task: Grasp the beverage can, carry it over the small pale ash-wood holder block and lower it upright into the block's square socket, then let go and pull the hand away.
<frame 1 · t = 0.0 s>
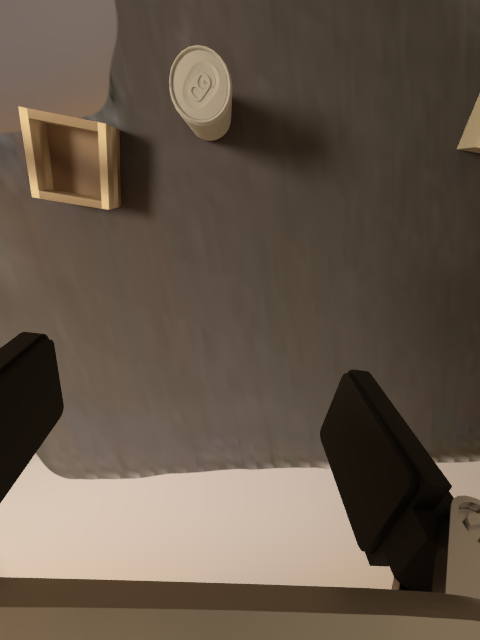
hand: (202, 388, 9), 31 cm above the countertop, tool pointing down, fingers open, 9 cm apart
can holder block: (84, 163, 33), on the countertop
beverage can: (209, 117, 32), on the countertop
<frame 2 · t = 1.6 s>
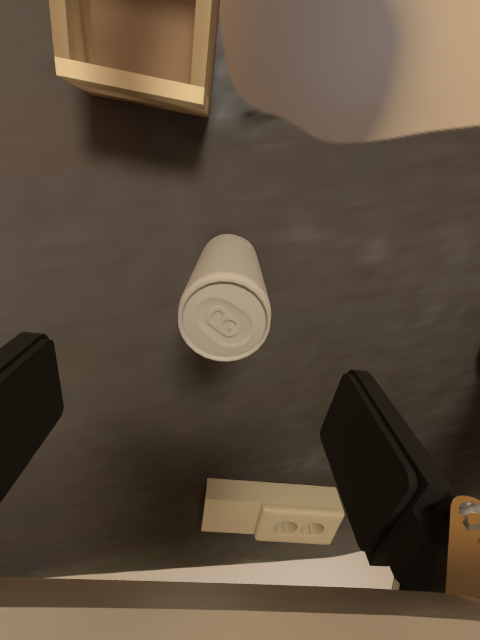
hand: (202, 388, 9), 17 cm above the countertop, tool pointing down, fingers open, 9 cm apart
can holder block: (151, 27, 18), on the countertop
electrical outlet: (268, 494, 40), on the countertop
beverage can: (229, 260, 25), on the countertop
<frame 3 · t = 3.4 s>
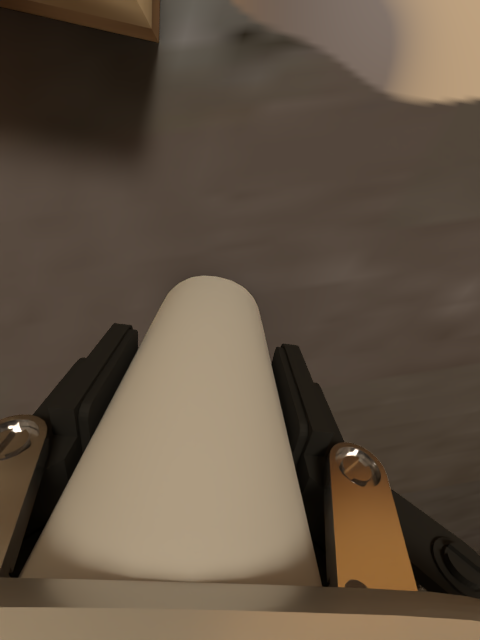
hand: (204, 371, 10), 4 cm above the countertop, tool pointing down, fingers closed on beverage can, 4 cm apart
beverage can: (211, 315, 14), on the countertop, touching gripper
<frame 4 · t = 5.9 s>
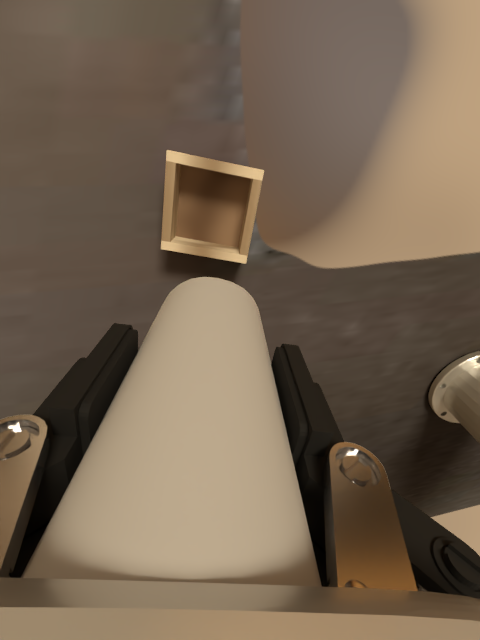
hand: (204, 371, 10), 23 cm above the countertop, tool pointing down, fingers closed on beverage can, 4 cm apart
can holder block: (212, 207, 29), on the countertop
beverage can: (211, 316, 14), point 18 cm above the countertop, touching gripper
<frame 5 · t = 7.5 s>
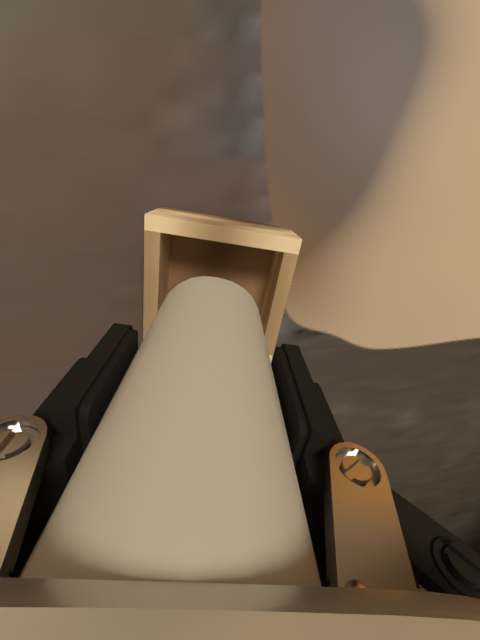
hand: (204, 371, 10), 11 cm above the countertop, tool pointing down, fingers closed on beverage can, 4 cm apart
can holder block: (218, 278, 20), on the countertop
beverage can: (211, 315, 14), point 6 cm above the countertop, touching gripper
when the fingers open (6 cm above the countertop, at t = 8.8 s): beverage can stays where it is, resting on can holder block.
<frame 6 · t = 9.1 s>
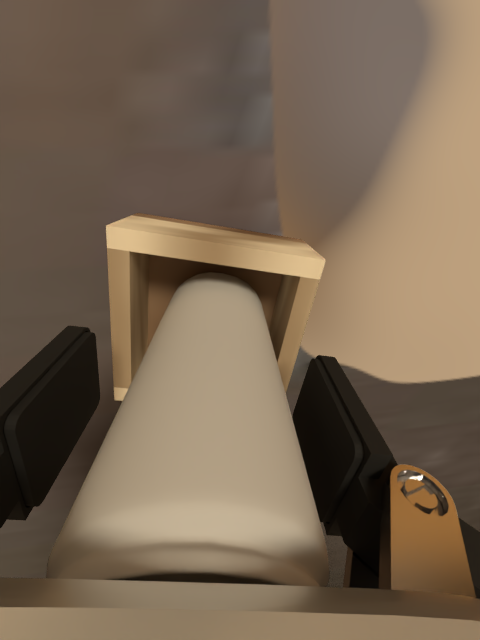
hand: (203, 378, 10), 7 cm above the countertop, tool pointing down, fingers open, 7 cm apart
can holder block: (212, 301, 16), on the countertop
beverage can: (216, 310, 15), point 1 cm above the countertop, touching can holder block
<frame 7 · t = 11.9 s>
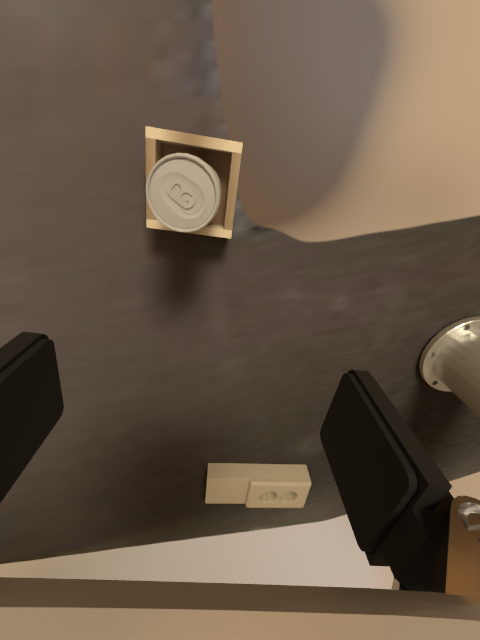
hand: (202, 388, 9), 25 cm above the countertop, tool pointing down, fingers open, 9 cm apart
can holder block: (195, 185, 29), on the countertop
electrical outlet: (255, 473, 53), on the countertop
beverage can: (197, 187, 29), point 1 cm above the countertop, touching can holder block
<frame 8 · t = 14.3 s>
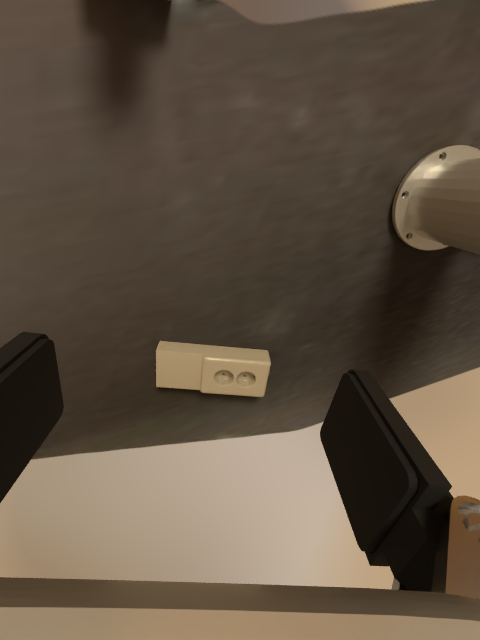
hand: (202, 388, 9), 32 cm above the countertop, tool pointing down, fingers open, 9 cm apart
electrical outlet: (213, 361, 49), on the countertop
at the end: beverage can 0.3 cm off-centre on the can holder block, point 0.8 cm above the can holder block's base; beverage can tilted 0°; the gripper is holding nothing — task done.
